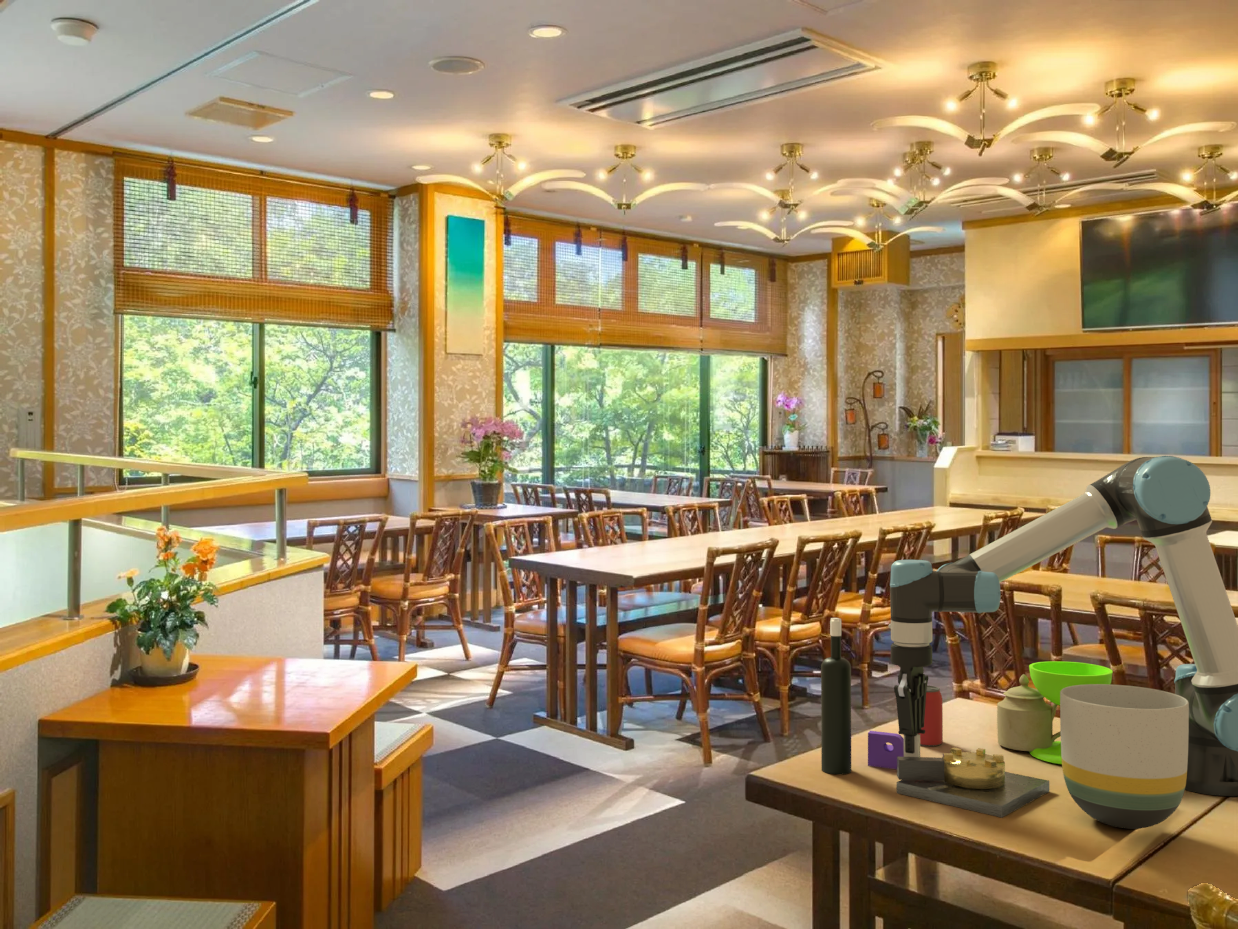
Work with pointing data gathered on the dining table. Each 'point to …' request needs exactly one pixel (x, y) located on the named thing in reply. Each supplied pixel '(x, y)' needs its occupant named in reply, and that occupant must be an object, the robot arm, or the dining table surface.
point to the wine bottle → (836, 707)
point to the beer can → (933, 718)
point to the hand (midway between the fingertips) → (912, 768)
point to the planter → (1124, 752)
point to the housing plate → (979, 794)
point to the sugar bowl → (1025, 719)
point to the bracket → (884, 749)
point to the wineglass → (1053, 680)
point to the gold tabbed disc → (956, 769)
